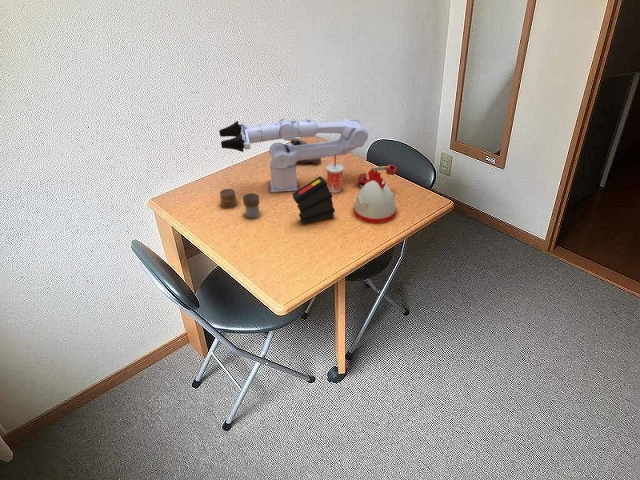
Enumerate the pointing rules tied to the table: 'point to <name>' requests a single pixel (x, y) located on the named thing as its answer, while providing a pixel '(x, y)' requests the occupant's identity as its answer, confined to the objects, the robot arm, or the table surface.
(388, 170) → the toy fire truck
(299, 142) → the bison figurine
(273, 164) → the robot arm
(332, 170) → the beverage cup
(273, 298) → the table surface
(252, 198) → the walnut chip
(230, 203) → the oak chip bottom
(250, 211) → the plastic cup
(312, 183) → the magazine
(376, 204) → the kitchen timer
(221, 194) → the disc
